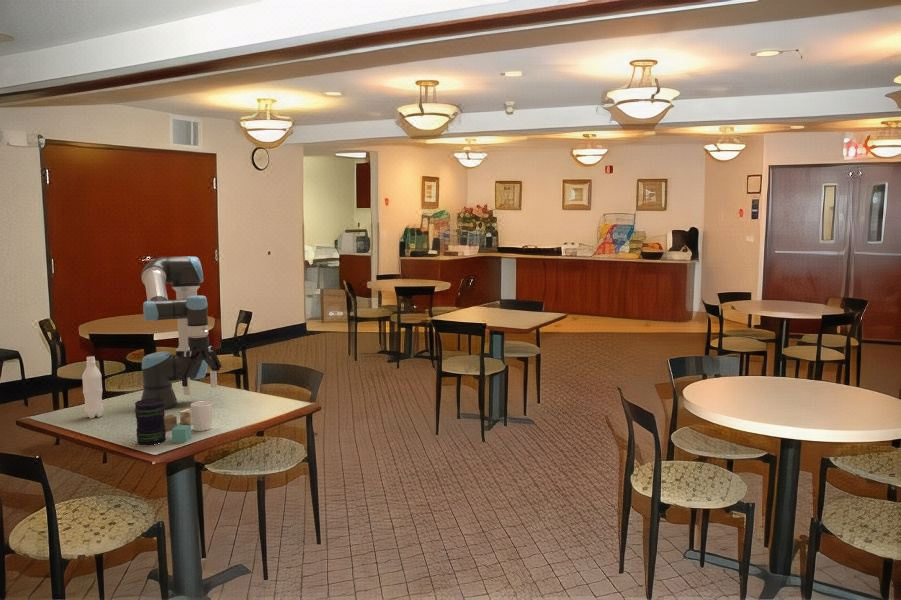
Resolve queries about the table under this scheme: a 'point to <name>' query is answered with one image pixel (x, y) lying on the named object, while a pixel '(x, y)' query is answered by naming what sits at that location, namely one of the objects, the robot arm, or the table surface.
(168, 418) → the walnut block
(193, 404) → the white cup
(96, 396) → the water bottle
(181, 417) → the maple block
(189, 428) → the teal block
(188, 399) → the table surface
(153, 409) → the storage jar
